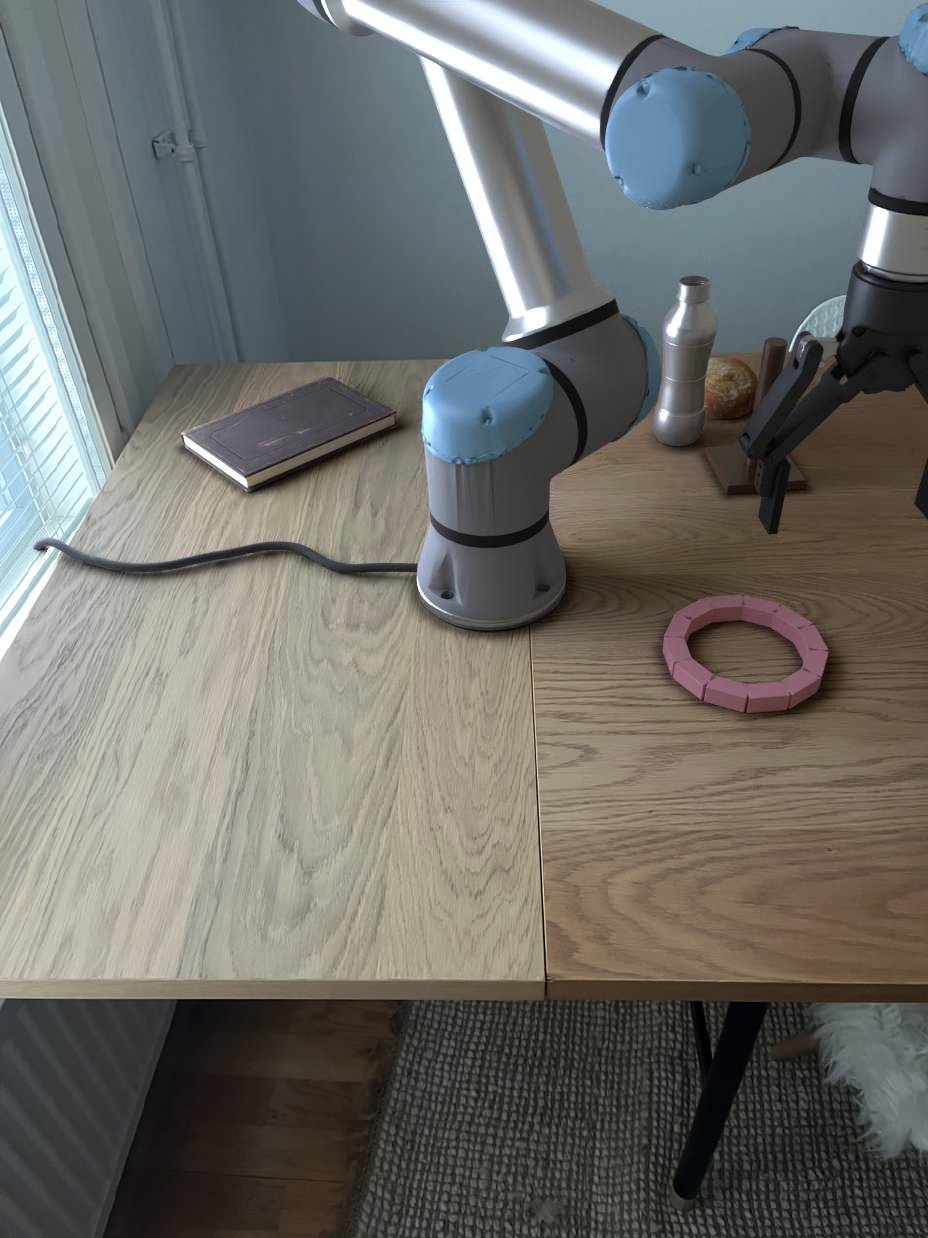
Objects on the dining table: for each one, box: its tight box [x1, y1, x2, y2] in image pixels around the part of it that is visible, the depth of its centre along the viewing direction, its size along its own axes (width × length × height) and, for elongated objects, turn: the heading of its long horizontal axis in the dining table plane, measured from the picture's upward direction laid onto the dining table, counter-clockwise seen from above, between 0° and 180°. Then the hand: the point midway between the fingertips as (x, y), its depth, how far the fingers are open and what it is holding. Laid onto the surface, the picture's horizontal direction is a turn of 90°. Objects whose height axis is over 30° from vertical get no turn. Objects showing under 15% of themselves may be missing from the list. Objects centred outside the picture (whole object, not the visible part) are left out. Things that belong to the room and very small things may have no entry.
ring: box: [662, 593, 829, 714], centre depth 87 cm, size 14×14×2 cm
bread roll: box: [704, 356, 758, 420], centre depth 125 cm, size 10×10×8 cm
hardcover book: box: [180, 375, 399, 493], centre depth 123 cm, size 16×23×2 cm
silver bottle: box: [651, 274, 718, 447], centre depth 113 cm, size 6×7×20 cm
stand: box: [705, 336, 806, 496], centre depth 108 cm, size 9×9×16 cm
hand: (846, 519), depth 80 cm, fingers open, 13 cm apart
